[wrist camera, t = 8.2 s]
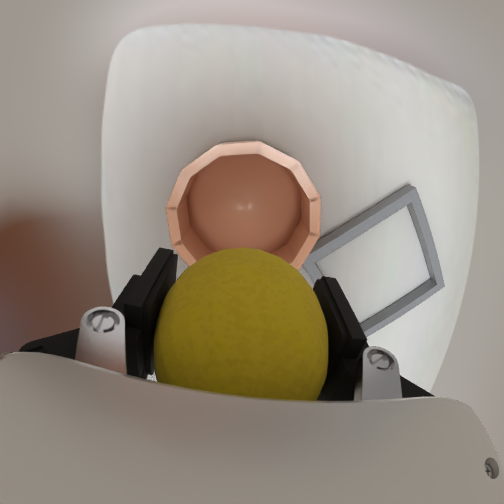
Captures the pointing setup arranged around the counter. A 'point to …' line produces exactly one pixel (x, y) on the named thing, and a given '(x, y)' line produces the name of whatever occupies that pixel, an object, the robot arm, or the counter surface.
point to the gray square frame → (364, 223)
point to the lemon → (242, 329)
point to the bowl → (244, 204)
